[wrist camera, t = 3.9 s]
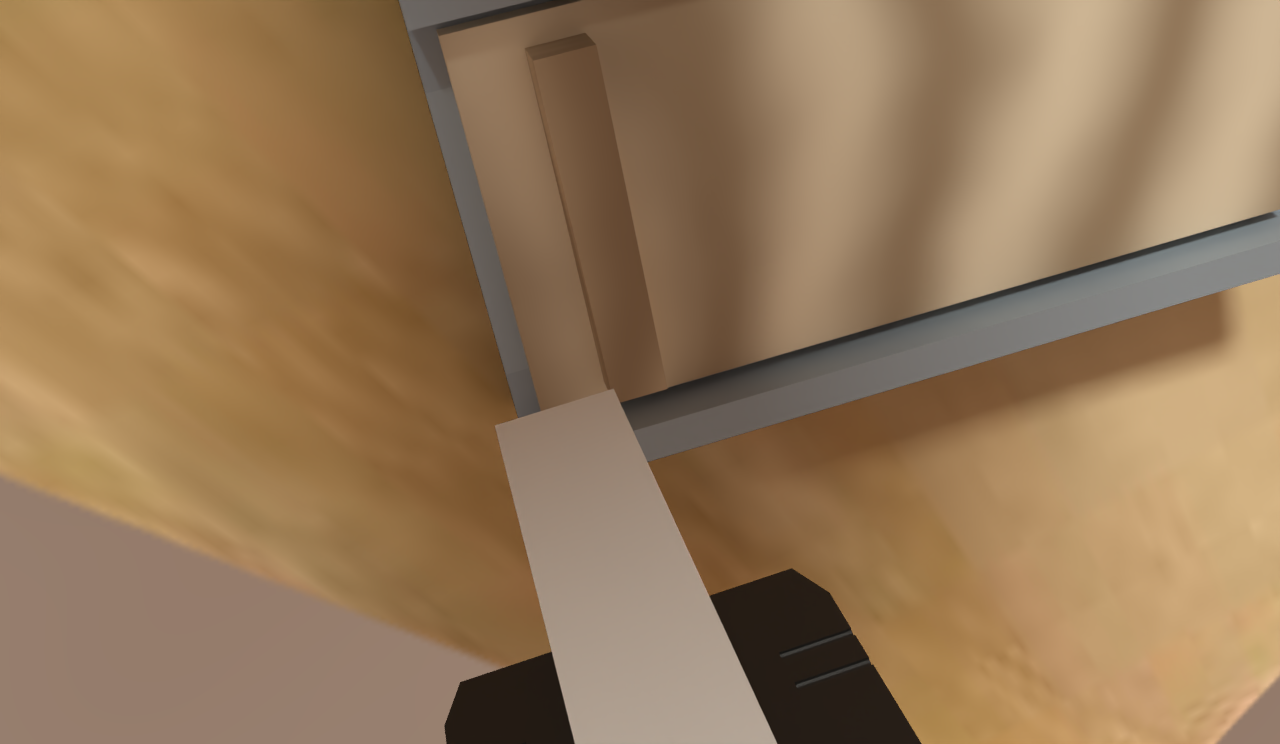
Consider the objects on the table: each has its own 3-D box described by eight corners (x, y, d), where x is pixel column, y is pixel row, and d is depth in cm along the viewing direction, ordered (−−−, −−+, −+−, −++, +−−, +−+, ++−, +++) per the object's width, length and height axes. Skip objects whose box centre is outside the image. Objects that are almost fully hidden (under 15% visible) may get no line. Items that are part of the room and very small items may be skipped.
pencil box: (513, 403, 40) (540, 494, 35) (382, -55, 32) (393, -21, 27) (1208, 203, 43) (1322, 260, 38) (1236, -259, 35) (1382, -261, 30)
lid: (540, 410, 36) (552, 447, 34) (436, 29, 30) (444, 48, 28) (1268, 199, 38) (1317, 222, 36) (1301, -186, 33) (1361, -182, 31)
